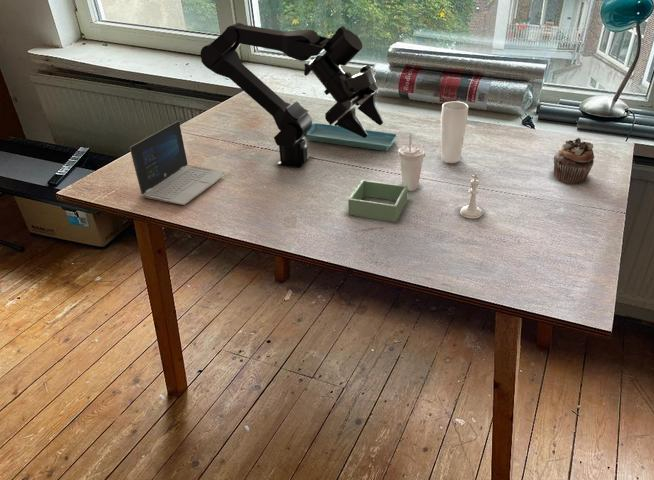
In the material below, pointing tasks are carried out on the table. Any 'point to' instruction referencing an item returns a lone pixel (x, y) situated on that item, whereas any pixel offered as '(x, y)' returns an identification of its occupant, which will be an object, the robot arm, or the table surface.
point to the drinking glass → (453, 130)
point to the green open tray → (375, 208)
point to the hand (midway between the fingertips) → (374, 130)
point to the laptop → (169, 168)
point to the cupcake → (573, 161)
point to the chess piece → (472, 201)
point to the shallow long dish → (350, 137)
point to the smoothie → (411, 164)
